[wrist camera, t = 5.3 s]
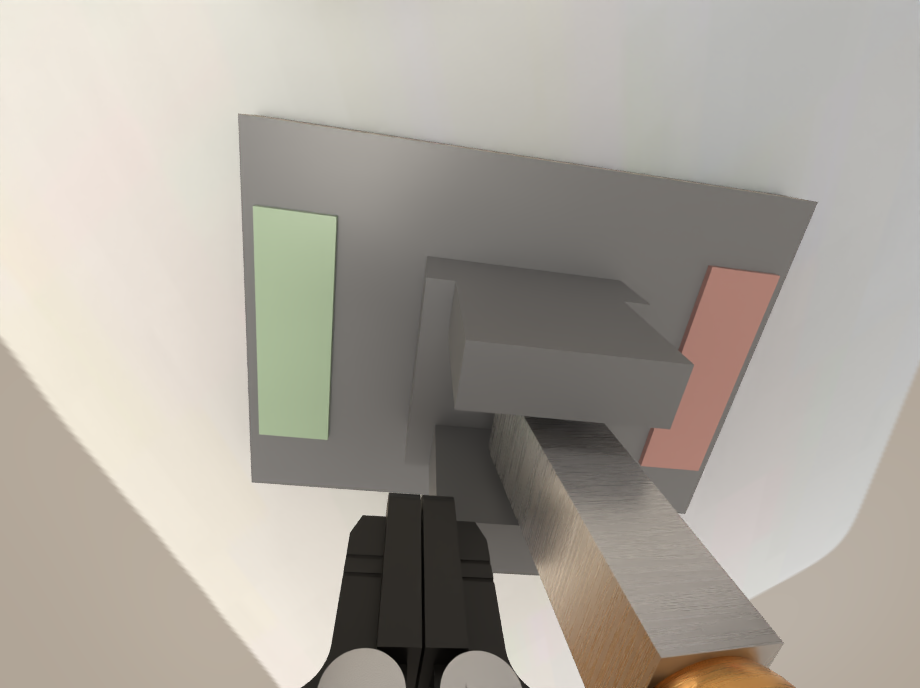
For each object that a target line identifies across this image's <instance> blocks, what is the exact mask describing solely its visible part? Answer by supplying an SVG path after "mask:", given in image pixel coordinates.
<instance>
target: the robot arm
mask: <svg viewBox="0 0 920 688" xmlns="http://www.w3.org/2000/svg"><path fill="white" fill-rule="evenodd" d="M301 688H529V687H528V686H527V685H526V684H525V683H524V682H523V681H522V680H521V679H520V678H519V677H518V675H517V674H516V673H515V671H514V670H513V668H512V666H511V664H510V662H509V660H508V657H507V654H506V649H505V644H504V638H503V632H502V626H501V620H500V614H499V608H498V602H497V596H496V591H495V585H494V583H493V573H492V567H491V565H490V555H489V549H488V543H487V539H486V538H485V536H484V535H483V533H482V532H481V530H480V529H479V527H478V526H477V524H476V523H475V522H469V521H457V520H456V510H455V501H454V497H449V496H434V495H422V497H421V496H420V495H417V494H402V493H389V495H388V503H387V511H386V517H383V516H366V515H363V516H362V517H361V518H360V520H359V521H358V523H357V524H356V525H355V527H354V528H353V530H352V531H351V532H350V537H349V543H348V549H347V555H346V560H345V566H344V573H343V578H342V584H341V590H340V596H339V602H338V608H337V614H336V620H335V626H334V632H333V638H332V644H331V649H330V653H329V655H328V657H327V660H326V662H325V663H324V665H323V667H322V668H321V670H320V671H319V672H318V673H317V675H316V676H315V677H314V678H313V679H312V680H311V681H310V682H308V683H307V684H306V685H304V686H303V687H301Z"/></svg>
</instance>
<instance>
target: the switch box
mask: <svg viewBox="0 0 920 688" xmlns="http://www.w3.org/2000/svg"><path fill="white" fill-rule="evenodd" d="M238 123H239V150H240V177H241V204H242V231H243V258H244V285H245V312H246V339H247V366H248V393H249V420H250V448H251V475H252V482H255V483H269V484H283V485H296V486H310V487H324V488H338V489H352V490H365V491H379V492H393V493H407V494H421V495H434V496H449V497H454V501H455V510H456V520H457V521H469V522H475V523H476V524H477V526H478V527H479V529H480V530H481V532H482V533H483V535H484V536H485V538H486V539H487V543H488V549H489V555H490V565H491V567H492V573H503V574H521V575H539V573H538V570H537V568H536V565H535V563H534V560H533V558H532V556H531V553H530V551H529V548H528V546H527V543H526V541H525V538H524V536H523V533H522V531H521V528H520V526H519V524H518V521H517V519H516V516H515V514H514V511H513V509H512V506H511V504H510V501H509V499H508V496H507V494H506V492H505V489H504V487H503V484H502V482H501V479H500V477H499V474H498V472H497V469H496V467H495V464H494V462H493V460H492V457H491V455H490V452H489V448H488V446H489V440H490V435H491V430H492V425H493V420H494V415H495V413H497V414H508V415H519V416H530V417H541V418H551V419H562V420H573V421H584V422H595V423H605V425H606V426H607V427H608V428H609V430H610V431H611V432H612V433H613V434H614V436H615V437H616V438H617V439H618V441H619V442H620V443H621V444H622V446H623V447H624V448H625V449H626V450H627V452H628V453H629V454H630V455H631V457H632V458H633V459H634V460H635V461H636V463H637V464H638V465H639V466H640V468H641V469H642V470H643V471H644V472H645V474H646V475H647V476H648V477H649V479H650V480H651V481H652V482H653V483H654V485H655V486H656V487H657V488H658V490H659V491H660V492H661V493H662V494H663V496H664V497H665V498H666V499H667V501H668V502H669V503H670V504H671V505H672V507H673V508H674V509H675V510H676V512H677V513H683V514H685V513H686V511H687V508H688V506H689V504H690V501H691V499H692V497H693V494H694V492H695V489H696V487H697V485H698V482H699V480H700V478H701V475H702V473H703V471H704V468H705V466H706V464H707V461H708V459H709V457H710V454H711V452H712V450H713V447H714V445H715V442H716V440H717V438H718V435H719V433H720V431H721V428H722V426H723V424H724V421H725V419H726V417H727V414H728V412H729V410H730V407H731V405H732V403H733V400H734V398H735V395H736V393H737V391H738V388H739V386H740V384H741V381H742V379H743V377H744V374H745V372H746V370H747V367H748V365H749V363H750V360H751V358H752V356H753V353H754V351H755V348H756V346H757V344H758V341H759V339H760V337H761V334H762V332H763V330H764V327H765V325H766V323H767V320H768V318H769V316H770V313H771V311H772V308H773V306H774V304H775V301H776V299H777V297H778V294H779V292H780V290H781V287H782V285H783V283H784V280H785V278H786V276H787V273H788V271H789V269H790V266H791V264H792V261H793V259H794V257H795V254H796V252H797V250H798V247H799V245H800V243H801V240H802V238H803V236H804V233H805V231H806V229H807V226H808V224H809V222H810V219H811V217H812V214H813V212H814V210H815V207H816V205H817V203H818V202H814V201H809V200H804V199H799V198H793V197H788V196H783V195H776V194H770V193H763V192H757V191H750V190H744V189H737V188H730V187H724V186H717V185H711V184H704V183H698V182H691V181H685V180H678V179H672V178H665V177H659V176H652V175H645V174H639V173H632V172H626V171H619V170H613V169H606V168H600V167H593V166H587V165H580V164H574V163H567V162H561V161H554V160H547V159H541V158H534V157H528V156H521V155H515V154H508V153H502V152H495V151H489V150H482V149H476V148H469V147H462V146H456V145H449V144H443V143H436V142H430V141H423V140H417V139H410V138H404V137H397V136H391V135H384V134H377V133H371V132H364V131H358V130H351V129H345V128H338V127H332V126H325V125H319V124H312V123H306V122H299V121H292V120H286V119H279V118H273V117H266V116H260V115H249V114H238ZM539 576H540V575H539Z"/></svg>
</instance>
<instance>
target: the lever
mask: <svg viewBox="0 0 920 688" xmlns="http://www.w3.org/2000/svg"><path fill="white" fill-rule="evenodd" d="M488 448H489V452H490V455H491V457H492V460H493V462H494V464H495V467H496V469H497V472H498V474H499V477H500V479H501V482H502V484H503V487H504V489H505V492H506V494H507V496H508V499H509V501H510V504H511V506H512V509H513V511H514V514H515V516H516V519H517V521H518V524H519V526H520V528H521V531H522V533H523V536H524V538H525V541H526V543H527V546H528V548H529V551H530V553H531V556H532V558H533V560H534V563H535V565H536V568H537V570H538V573H539V575H540V578H541V580H542V583H543V585H544V588H545V590H546V592H547V595H548V597H549V600H550V602H551V605H552V607H553V610H554V612H555V615H556V617H557V619H558V622H559V624H560V627H561V629H562V632H563V634H564V637H565V639H566V642H567V644H568V647H569V649H570V651H571V654H572V656H573V659H574V661H575V664H576V666H577V669H578V671H579V674H580V676H581V679H582V681H583V683H584V686H585V688H796V687H794V686H793V685H792V684H790V683H789V682H788V681H786V680H785V679H784V678H783V677H781V676H780V675H778V674H777V673H775V672H773V671H772V670H770V669H769V666H770V665H771V663H772V662H773V660H774V658H775V657H776V655H777V654H778V652H779V650H780V649H781V647H782V645H783V643H784V642H782V640H781V639H780V638H779V637H778V635H777V634H776V633H775V631H774V630H773V629H772V628H771V627H770V625H769V624H768V623H767V622H766V620H764V618H763V617H762V616H761V614H760V613H759V612H758V611H757V609H756V608H755V607H754V606H753V605H752V603H751V602H750V601H749V600H748V598H747V597H746V596H745V595H744V594H743V592H742V591H741V590H740V589H739V587H738V586H737V585H736V584H735V583H734V581H733V580H732V579H731V578H730V576H729V575H728V574H727V573H726V572H725V570H724V569H723V568H722V567H721V565H720V564H719V563H718V562H717V560H716V559H715V558H714V557H713V556H712V554H711V553H710V552H709V551H708V549H707V548H706V547H705V546H704V545H703V543H702V542H701V541H700V540H699V538H698V537H697V536H696V535H695V534H694V532H693V531H692V530H691V529H690V527H689V526H688V525H687V524H686V523H685V521H684V520H683V519H682V518H681V516H680V515H679V514H678V513H677V512H676V510H675V509H674V508H673V507H672V505H671V504H670V503H669V502H668V501H667V499H666V498H665V497H664V496H663V494H662V493H661V492H660V491H659V490H658V488H657V487H656V486H655V485H654V483H653V482H652V481H651V480H650V479H649V477H648V476H647V475H646V474H645V472H644V471H643V470H642V469H641V468H640V466H639V465H638V464H637V463H636V461H635V460H634V459H633V458H632V457H631V455H630V454H629V453H628V452H627V450H626V449H625V448H624V447H623V446H622V444H621V443H620V442H619V441H618V439H617V438H616V437H615V436H614V434H613V433H612V432H611V431H610V430H609V428H608V427H607V426H606V425H605V423H595V422H584V421H573V420H562V419H551V418H541V417H530V416H519V415H508V414H497V413H495V415H494V420H493V425H492V430H491V435H490V440H489V446H488Z"/></svg>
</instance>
